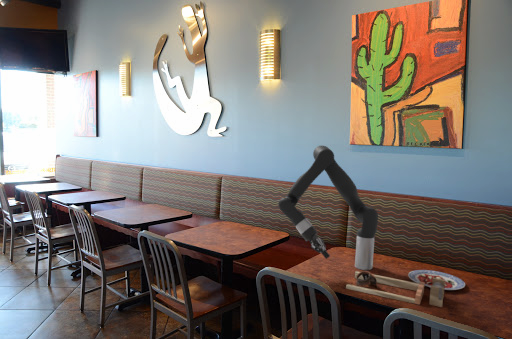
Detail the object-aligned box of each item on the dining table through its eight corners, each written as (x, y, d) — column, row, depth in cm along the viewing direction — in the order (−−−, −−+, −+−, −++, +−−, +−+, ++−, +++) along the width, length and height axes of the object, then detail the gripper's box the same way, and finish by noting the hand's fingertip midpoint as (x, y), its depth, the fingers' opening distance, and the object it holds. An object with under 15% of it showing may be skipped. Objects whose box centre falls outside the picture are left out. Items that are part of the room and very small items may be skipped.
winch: (431, 294, 182) (433, 275, 181) (443, 297, 180) (445, 277, 179) (428, 306, 169) (430, 286, 168) (441, 309, 166) (443, 288, 165)
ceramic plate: (408, 287, 190) (408, 281, 190) (407, 270, 214) (408, 265, 214) (468, 297, 181) (469, 291, 181) (460, 278, 205) (461, 273, 205)
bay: (355, 276, 201) (356, 269, 201) (423, 290, 186) (424, 282, 186) (346, 288, 185) (346, 280, 185) (419, 304, 170) (420, 295, 170)
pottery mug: (381, 291, 184) (375, 277, 182) (361, 298, 186) (355, 284, 184) (375, 276, 196) (369, 263, 193) (357, 282, 198) (351, 269, 195)
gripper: (306, 227, 195) (329, 256, 191) (316, 222, 207) (337, 250, 202) (296, 236, 198) (318, 265, 194) (305, 231, 210) (327, 258, 205)
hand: (328, 257), depth 198 cm, fingers closed
